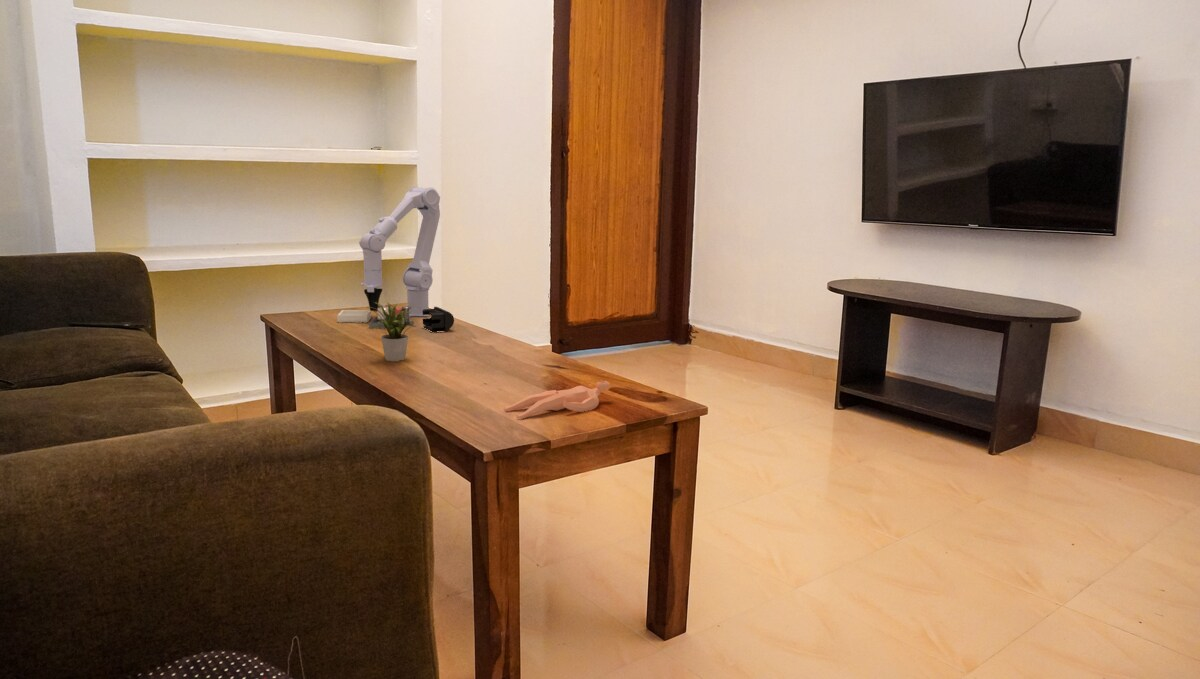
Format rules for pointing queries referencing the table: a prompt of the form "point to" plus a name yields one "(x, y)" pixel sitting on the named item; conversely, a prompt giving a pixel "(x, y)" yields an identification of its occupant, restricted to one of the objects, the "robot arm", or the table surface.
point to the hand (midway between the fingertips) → (373, 310)
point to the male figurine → (561, 400)
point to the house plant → (394, 334)
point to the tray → (354, 316)
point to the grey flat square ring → (375, 321)
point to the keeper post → (406, 315)
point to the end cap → (438, 319)
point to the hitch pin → (382, 313)
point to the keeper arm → (395, 310)
